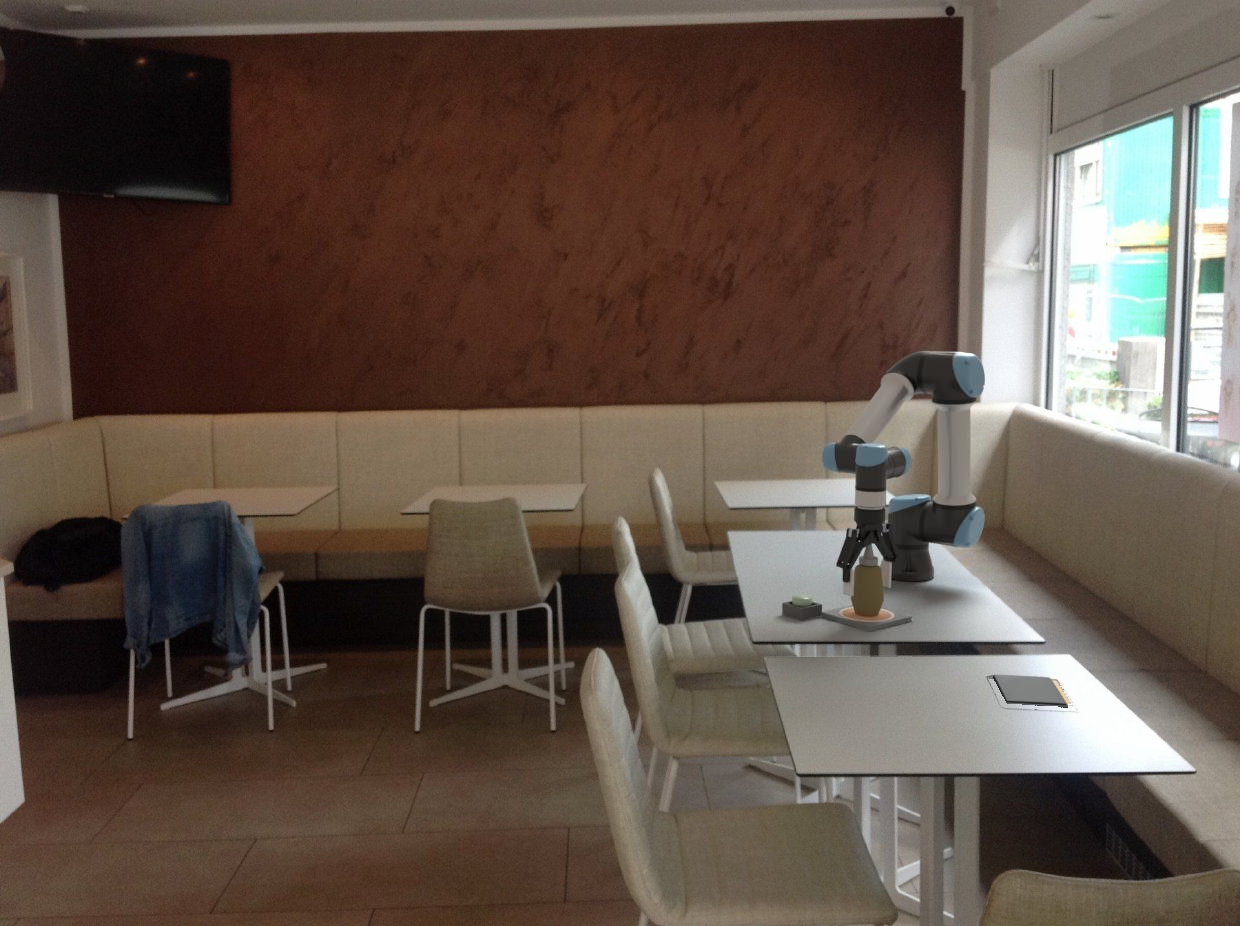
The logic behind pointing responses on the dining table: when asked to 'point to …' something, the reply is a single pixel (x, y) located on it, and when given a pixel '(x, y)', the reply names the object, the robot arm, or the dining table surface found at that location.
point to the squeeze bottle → (868, 585)
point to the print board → (866, 618)
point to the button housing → (802, 611)
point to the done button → (802, 600)
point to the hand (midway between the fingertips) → (867, 590)
